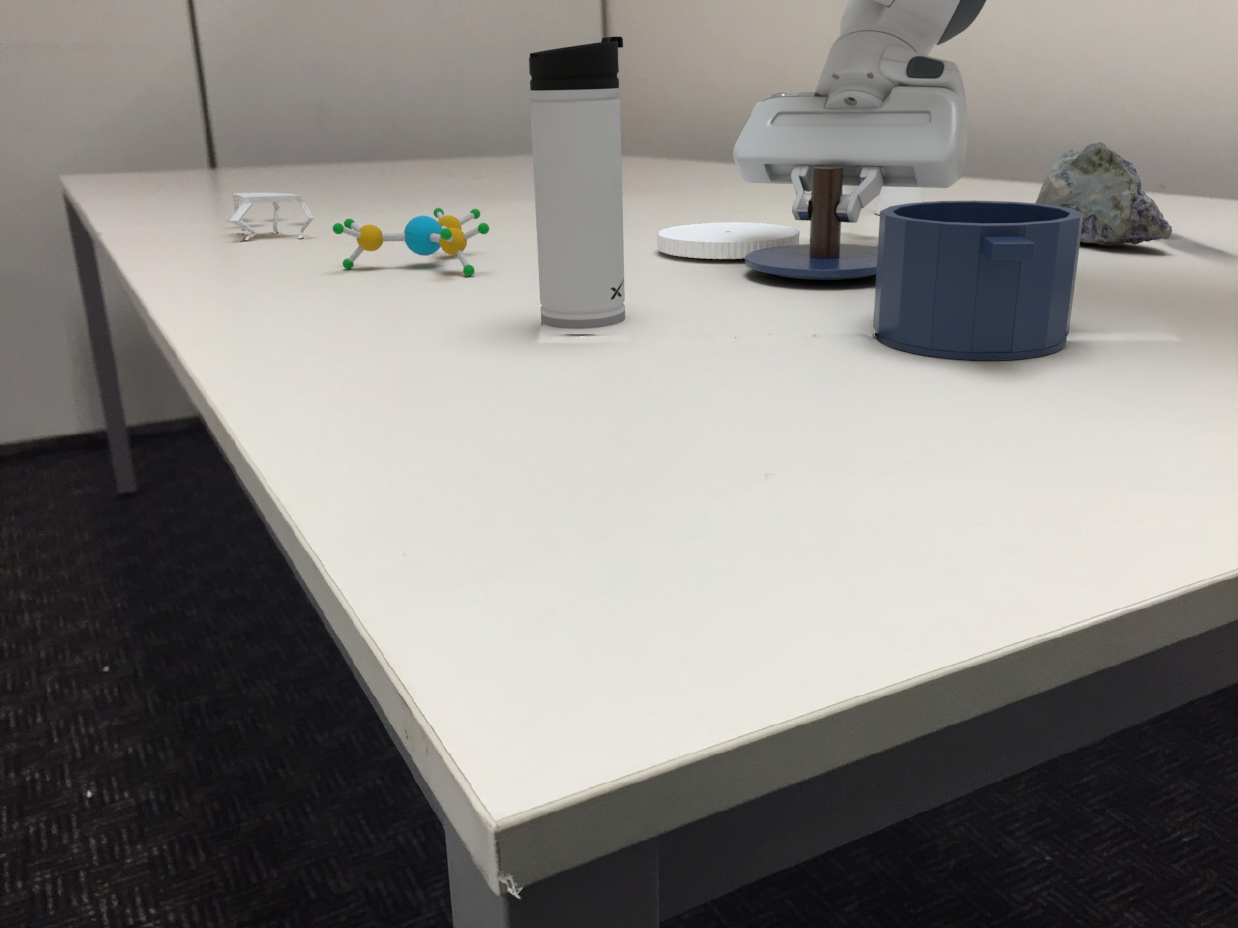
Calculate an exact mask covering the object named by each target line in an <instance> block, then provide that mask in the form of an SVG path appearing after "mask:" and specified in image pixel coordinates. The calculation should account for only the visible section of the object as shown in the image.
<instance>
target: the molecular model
mask: <svg viewBox="0 0 1238 928" xmlns="http://www.w3.org/2000/svg"><path fill="white" fill-rule="evenodd" d="M433 215H434V217H435V218H436V219H438V221H437V220H436V219H435V218H434V217H431V216H429V215H418V216H414V217H413V218H412V219H410V220H409V221H408V222H407V223H406V225H405V228H404V231H403V232H388V233H387V232H382V230H381V229H380V228H379V227H378V226H376V225H375V224H365V225H362V226H359V225H358V224H357V223H356V221H355V220H354V219H352V218H346V219H345V220H344V221H343V224H342V223H340V222H336V223H334V224H333V226H332V231H333V233H334V234H336V235H342V234H345V235H348V236H351V237H354V238H356V243H357V244H358V247H357V248H356V249H355V250H354V251H353V252H352V254H351V255H350V256H349V257H348V258H344V259H343V260H342V266H343V268H344V269H345V270H351V269H353V268H354V265H355V264H354V263H355V261H356V260H357V259H358V258H359V256H360V255H361V254H362V253H363V252H364V251H367V252H375V251H377V250H378V251H379V249H380V248H381V247H382V246H383V243H384V242H404V243H405V244H406V246H407V248H408V249H409V250H410V251H411V252H412V253H414V254H415V255H418V256H425V257H426V256H431V255H434V254H435V253H437V252H438V251H439V250H440V249H441V250H442V252H444V253H445V254H447V255H450V256H457V258H458V260H459V261H460V263H461V265H462V267H463V268H462V269H463V270H462V272H463V274H464V275H465V276H467V277H471V276H473V275H474V274H475V267H474V266H473V265H471V264H470V263H469V261H468V259H467V258H466V255H465V254H464V251H465V249H467V245H468V240H469V239H472V238H473V237H475V236H476V235H479V234H480V235H486V234H488V233H489V231H490V226H489V225H488V223H486V222H480V223H479V224H478V226H477V227H475V228H472V229H470V230H469V231H466V232H464V231H463V230H462V229H463V228H462V226H463V225H464V224H466V223H468V222H470V221H472V220H477V219H479V218H480V217H481V211H480V209H478V208H472V209H471V210H470V212H469V214H467V215H465V216H463V217H461V218H460V219H458V218H457V217H456V216H454V215H451V214H450V215H449V214H448V215H447V214H446V215H445V212H444V209H442V208H441V207H436V208H435V209H434V210H433Z"/></svg>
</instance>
